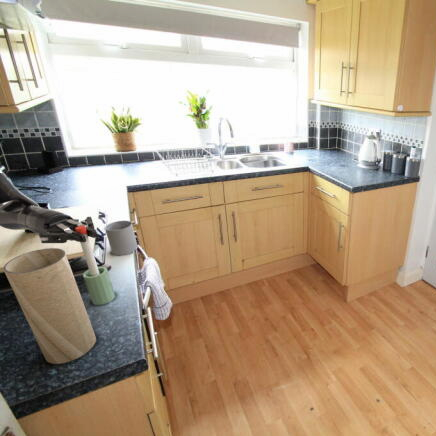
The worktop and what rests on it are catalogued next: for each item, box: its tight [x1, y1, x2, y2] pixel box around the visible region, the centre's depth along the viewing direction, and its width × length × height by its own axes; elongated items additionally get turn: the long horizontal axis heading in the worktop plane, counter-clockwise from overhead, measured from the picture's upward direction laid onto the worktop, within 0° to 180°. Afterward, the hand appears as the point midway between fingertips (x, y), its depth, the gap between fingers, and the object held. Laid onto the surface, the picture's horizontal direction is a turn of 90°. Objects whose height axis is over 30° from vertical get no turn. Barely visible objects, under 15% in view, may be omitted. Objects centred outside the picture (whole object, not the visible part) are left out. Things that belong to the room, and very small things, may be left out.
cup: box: [104, 220, 139, 256], centre depth 117 cm, size 8×8×10 cm
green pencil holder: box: [82, 266, 116, 306], centre depth 92 cm, size 6×6×10 cm
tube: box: [3, 247, 97, 365], centre depth 72 cm, size 10×10×25 cm
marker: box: [75, 226, 100, 277], centre depth 87 cm, size 2×2×16 cm
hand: (89, 236), depth 84 cm, fingers closed on marker, 2 cm apart
